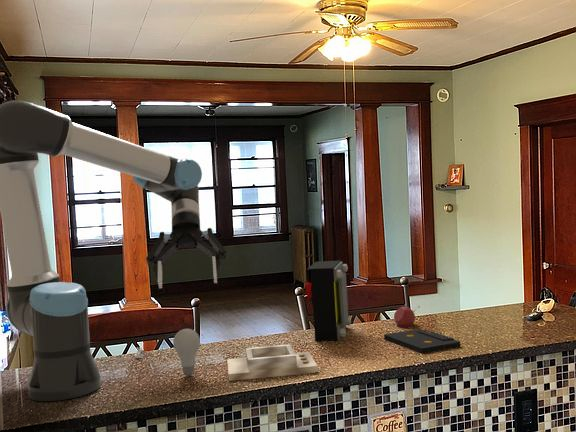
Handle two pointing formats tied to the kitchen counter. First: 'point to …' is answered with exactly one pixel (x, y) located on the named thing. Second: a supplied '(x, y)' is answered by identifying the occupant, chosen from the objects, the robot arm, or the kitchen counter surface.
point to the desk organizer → (270, 363)
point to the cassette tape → (422, 340)
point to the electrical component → (328, 299)
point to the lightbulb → (187, 349)
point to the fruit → (404, 317)
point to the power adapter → (139, 353)
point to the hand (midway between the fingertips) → (187, 282)
